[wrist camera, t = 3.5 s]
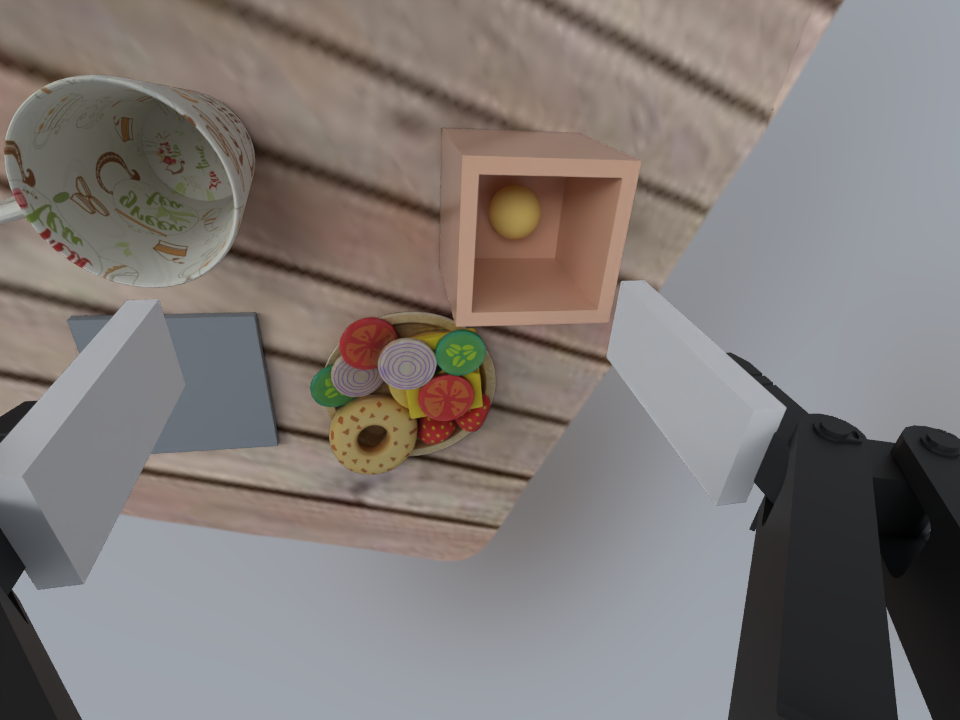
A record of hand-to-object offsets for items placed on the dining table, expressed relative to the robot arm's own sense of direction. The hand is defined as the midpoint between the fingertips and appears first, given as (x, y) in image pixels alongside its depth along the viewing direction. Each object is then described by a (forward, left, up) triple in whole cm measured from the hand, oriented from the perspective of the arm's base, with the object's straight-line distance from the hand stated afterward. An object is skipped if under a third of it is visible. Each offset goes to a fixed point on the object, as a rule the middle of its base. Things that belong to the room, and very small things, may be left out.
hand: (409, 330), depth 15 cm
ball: (+7, -1, -19) cm, 20 cm away
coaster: (-15, -14, -20) cm, 28 cm away
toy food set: (+1, -15, -20) cm, 25 cm away
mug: (-13, +1, -20) cm, 24 cm away
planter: (+7, -1, -20) cm, 21 cm away
